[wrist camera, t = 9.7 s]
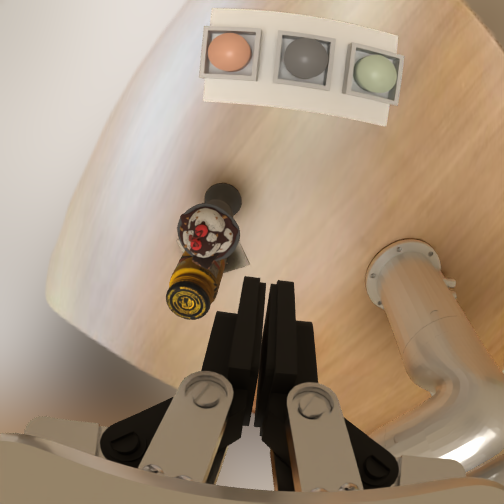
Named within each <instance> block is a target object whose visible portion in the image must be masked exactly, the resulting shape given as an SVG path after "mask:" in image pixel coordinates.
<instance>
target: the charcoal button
mask: <svg viewBox="0 0 504 504" xmlns="http://www.w3.org/2000/svg"><path fill="white" fill-rule="evenodd" d="M327 64H328V55H327V52H326V50H325V48H324V47H323V45H322V44H320V43H319V42H318V41H316V40H314V39H310V38H299V39H296V40H294V41H292V42H291V43H290V44H289V45H288V46H287V48H286V50H285V53H284V65H285V67H286V69H287V70H288V72H289V73H290V74H292V75H293V76H295V77H297V78H301V79H309V78H313V77H316V76H318V75H320V74H321V73H322V72H323V71H324V70H325V69H326V67H327Z"/></svg>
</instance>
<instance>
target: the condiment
mask: <svg viewBox="0 0 504 504" xmlns="http://www.w3.org/2000/svg"><path fill="white" fill-rule="evenodd" d="M177 243H178V245H179V247H180V248H181V250H182V252H183V255H182V257H181V259H180V260H179V263H178V265H177V267H176V269H175V270H174V272H173V274H172V276H171V279H170V283H169V286H170V287H169V290H168V291H167V295H166V301H167V304H168V306H169V308H170V309H171V311H172V312H174V313H175V314H176V315H177V316H179V317H182V318H184V319H191V320H195V319H199V318H201V317H203V316H204V315H206V313H207V312H208V310H209V309H210V305H211V303H212V302H213V301H214V300H215V298H216V296H217V292H218V289H219V285H220V282H221V278H222V275H223V273H225V272H229V271H231V270H235V269H238V268H242V267H245V266H248V265H249V262H248V260H247V258H246V256H245V253H244V252H243V249H242V247H241V245H240V243H238V245H237V247H236V249H235V251H234V252H233V253H232V254H231V255H230V256H228V257H227V258H225V259H222V260H218V261H214V263H213V264H212V266H211V267H210V268H209V269H205V268H203V267H201V266H199V265H197V264H195V263H194V262H192V258H193V256H191V255H190V254H188V253H187V252H186V251H185V250H184V248H183V246H182V245H181V243H180V240H177Z"/></svg>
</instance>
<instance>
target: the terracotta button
mask: <svg viewBox="0 0 504 504" xmlns="http://www.w3.org/2000/svg"><path fill="white" fill-rule="evenodd" d="M251 56H252V51H251V48H250V46H249V44H248V43H247V41H246V40H245V39H244V38H243V37H242V36H240V35H238V34H235V33H224V34H221V35H219V36H217V37H216V38H214V39H213V40H212V42H211V43H210V45H209V48H208V57H209V60H210V62H211V63H212V64H213V65H214V66H215V67H216V68H218V69H221V70H224V71H227V72H236V71H240V70H242V69H244V68H245V67H246V66H247V65H248V64H249V62H250V60H251Z"/></svg>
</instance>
